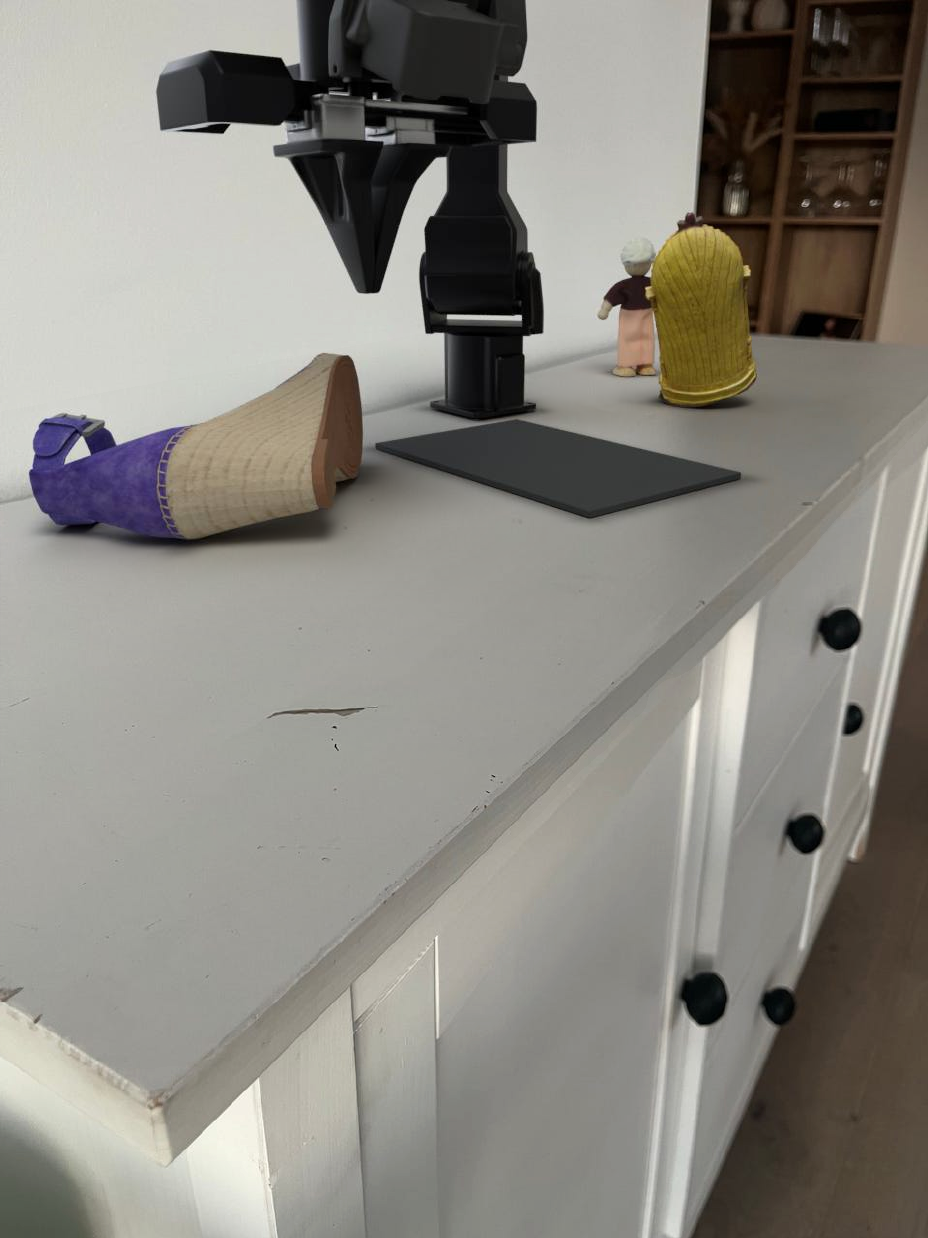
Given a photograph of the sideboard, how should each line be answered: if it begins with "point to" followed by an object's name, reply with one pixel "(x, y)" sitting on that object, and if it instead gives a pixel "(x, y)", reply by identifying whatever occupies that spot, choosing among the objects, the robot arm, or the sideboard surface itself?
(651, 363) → the grandmother figurine
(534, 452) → the mat
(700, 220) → the shrine
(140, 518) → the sandal
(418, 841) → the sideboard surface
